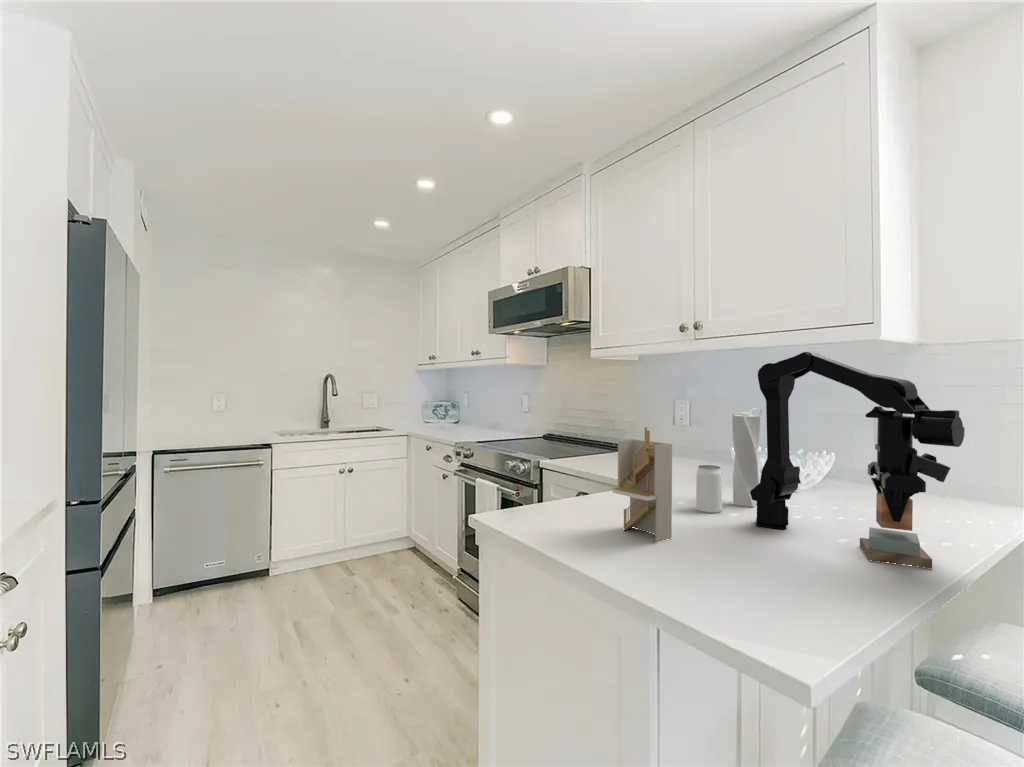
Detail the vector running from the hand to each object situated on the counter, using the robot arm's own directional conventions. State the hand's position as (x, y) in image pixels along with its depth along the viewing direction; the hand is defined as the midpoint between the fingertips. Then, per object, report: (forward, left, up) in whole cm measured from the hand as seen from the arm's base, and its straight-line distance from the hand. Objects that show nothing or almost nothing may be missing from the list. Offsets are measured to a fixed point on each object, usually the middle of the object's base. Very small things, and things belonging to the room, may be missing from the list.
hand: (893, 518), depth 103 cm
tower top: (0, 0, -6) cm, 6 cm away
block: (0, 0, -2) cm, 2 cm away
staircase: (-48, -8, -8) cm, 50 cm away
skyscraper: (-28, +34, -8) cm, 45 cm away
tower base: (0, 0, -8) cm, 9 cm away
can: (-37, +22, -8) cm, 44 cm away
